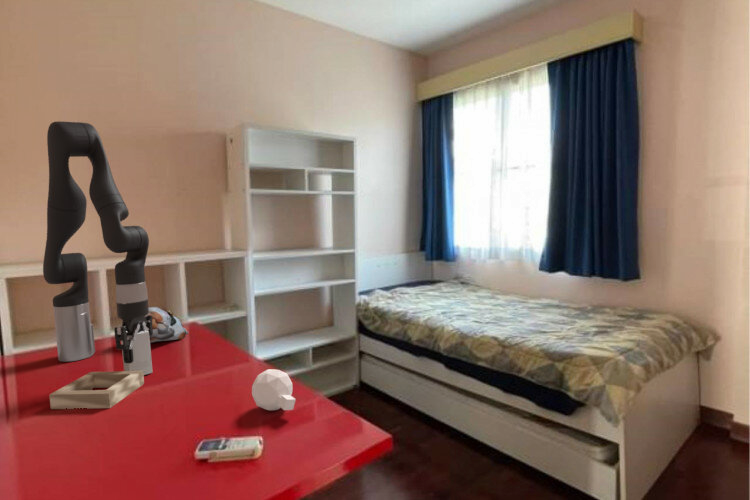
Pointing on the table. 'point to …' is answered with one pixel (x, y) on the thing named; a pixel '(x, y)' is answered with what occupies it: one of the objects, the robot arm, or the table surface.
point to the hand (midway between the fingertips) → (137, 357)
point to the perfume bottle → (273, 390)
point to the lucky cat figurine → (165, 326)
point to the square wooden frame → (85, 397)
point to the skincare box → (140, 354)
